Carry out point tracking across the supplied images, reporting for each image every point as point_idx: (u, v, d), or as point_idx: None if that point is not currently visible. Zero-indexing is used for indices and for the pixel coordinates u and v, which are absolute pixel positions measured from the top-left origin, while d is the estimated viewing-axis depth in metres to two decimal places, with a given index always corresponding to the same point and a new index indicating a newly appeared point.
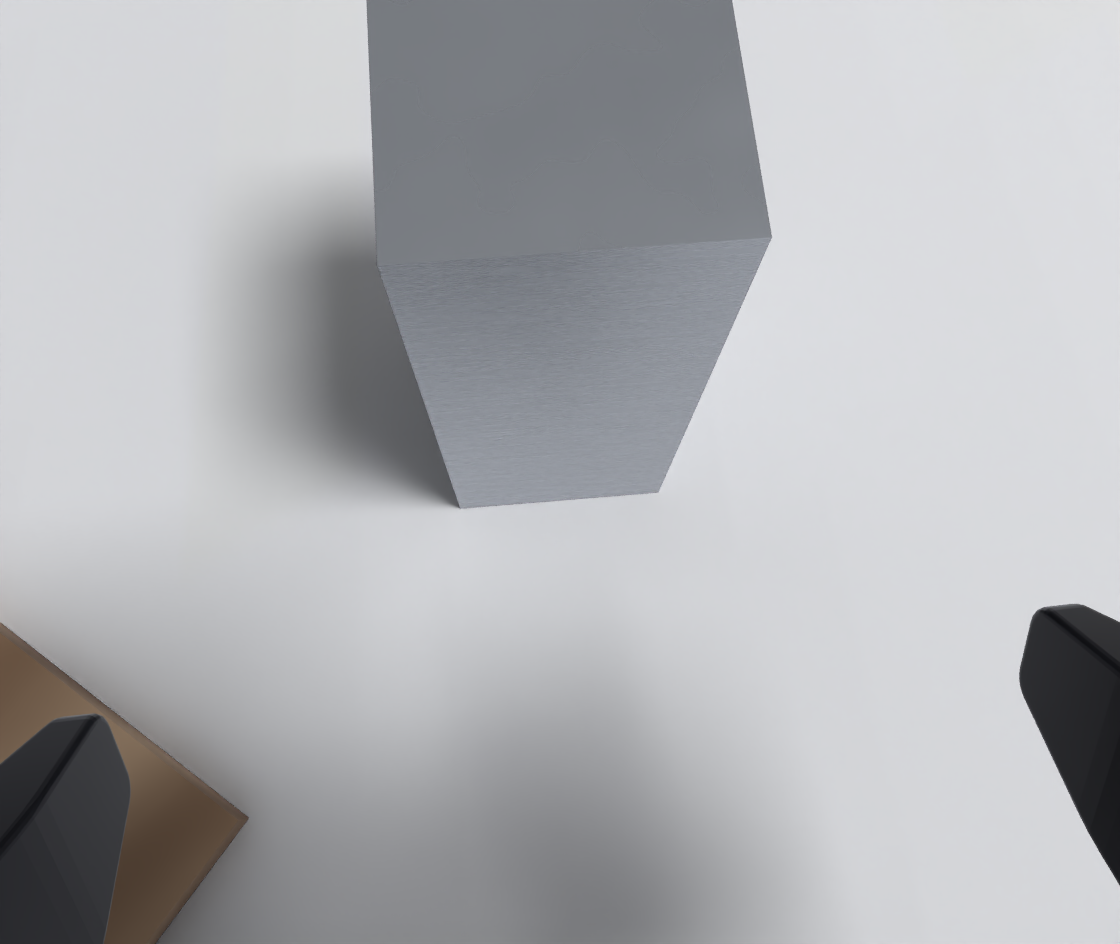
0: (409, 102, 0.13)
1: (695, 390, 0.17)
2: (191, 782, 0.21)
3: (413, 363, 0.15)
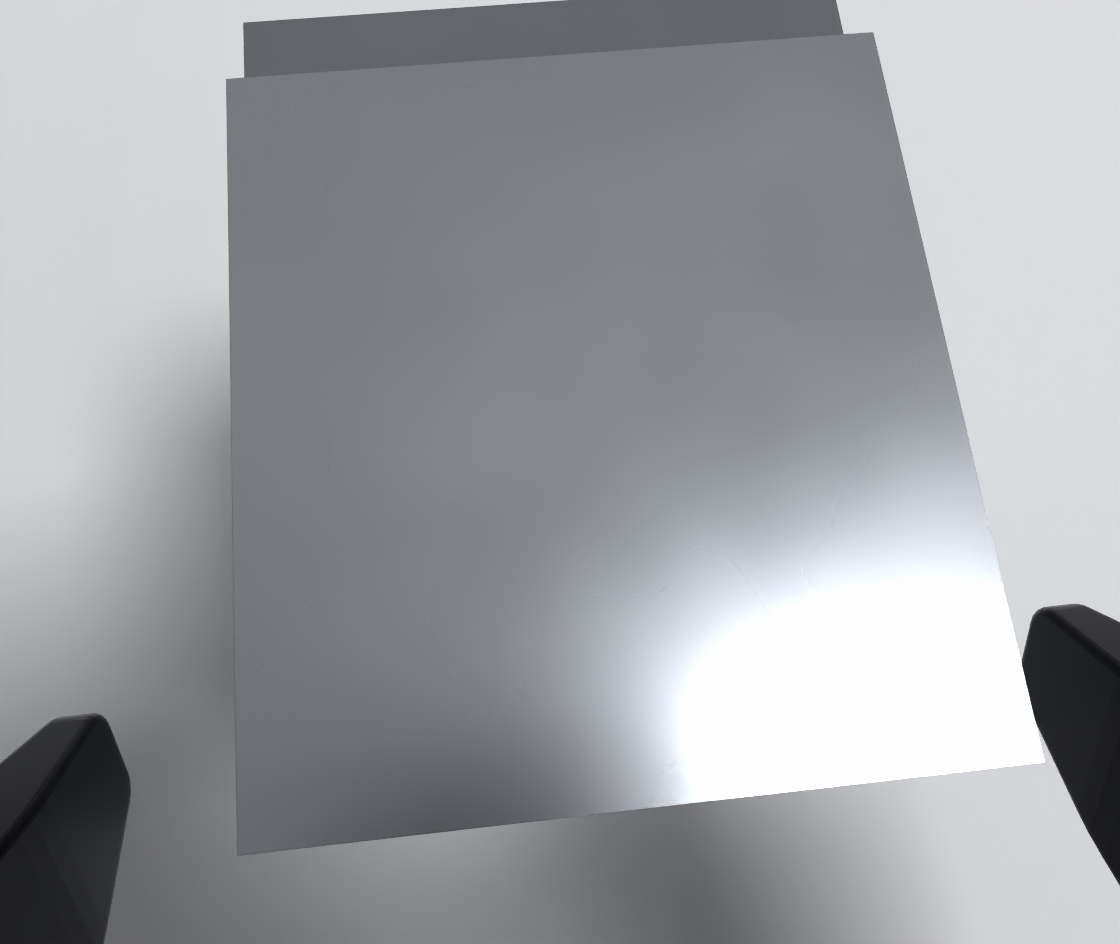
0: (310, 472, 0.06)
1: None
2: None
3: None
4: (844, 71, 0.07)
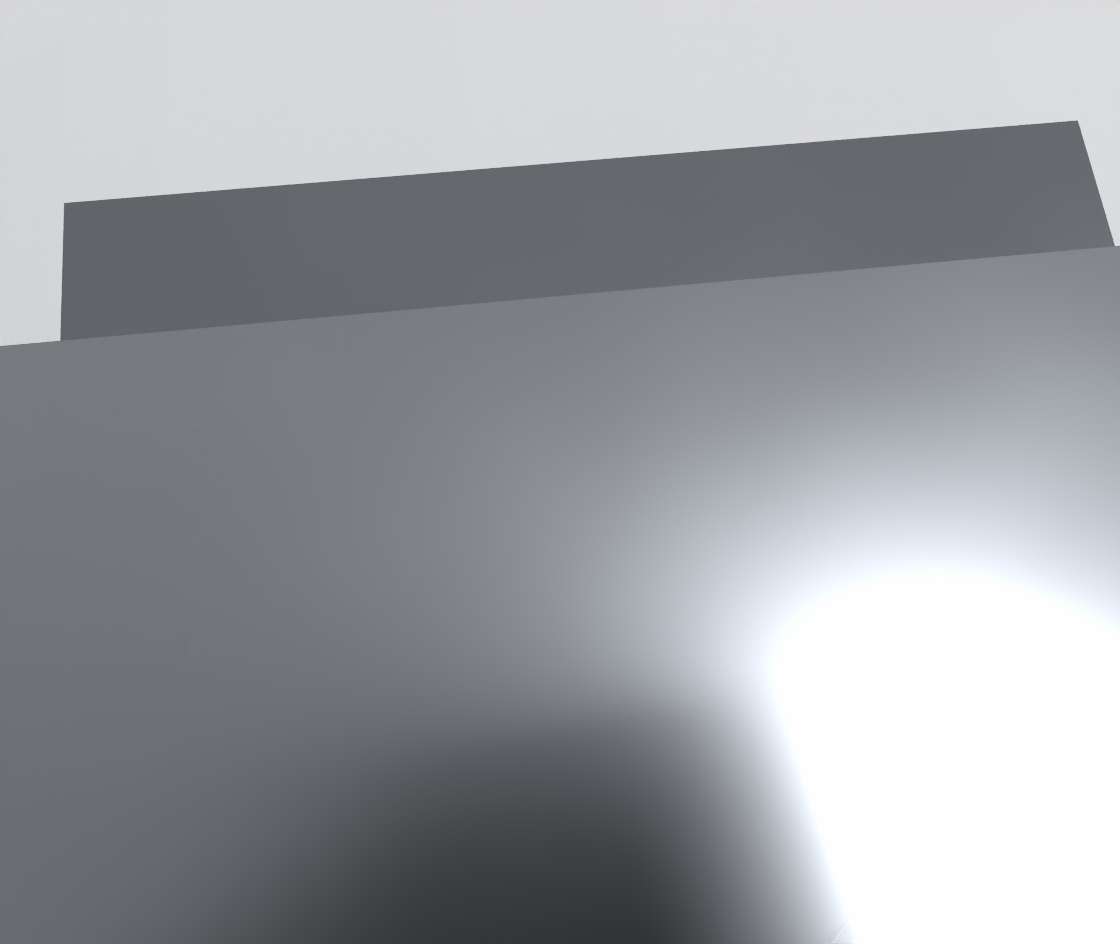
0: None
1: None
2: None
3: None
4: None
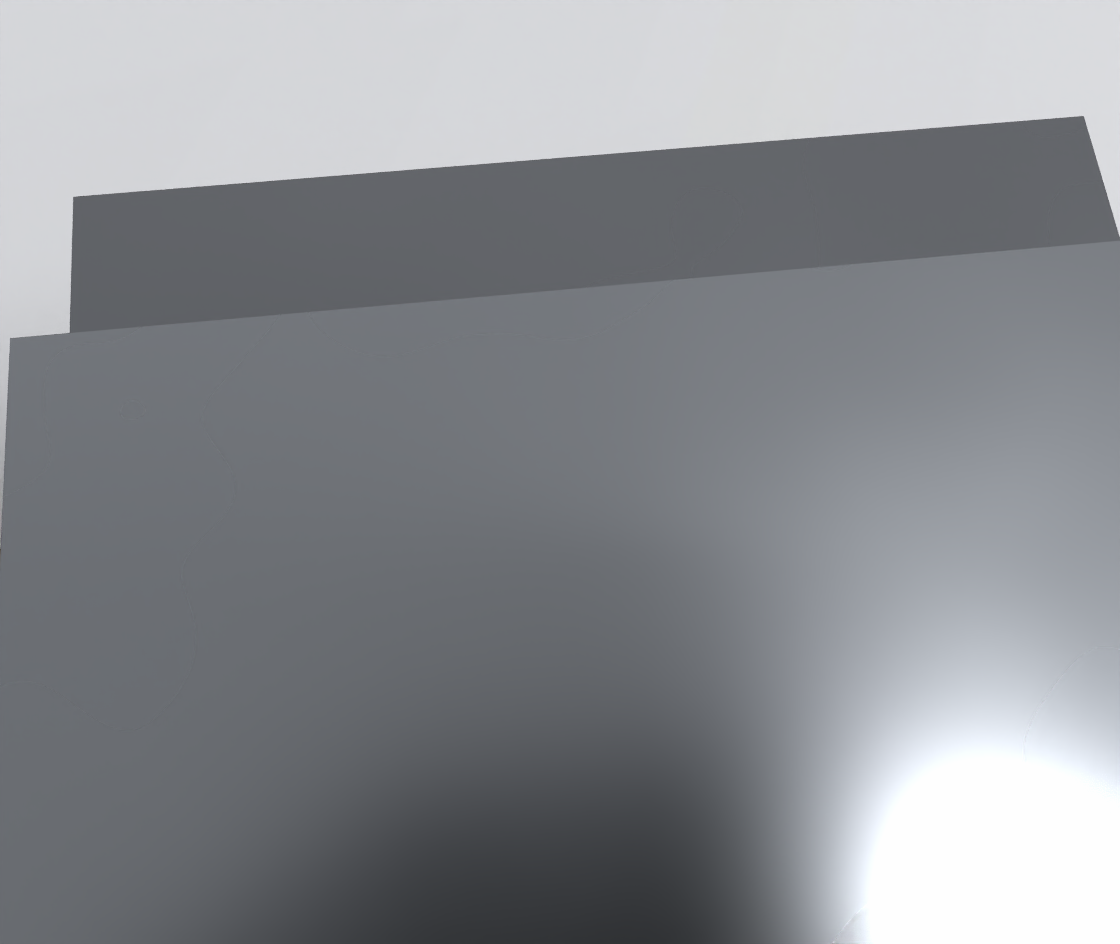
0: None
1: None
2: None
3: None
4: None
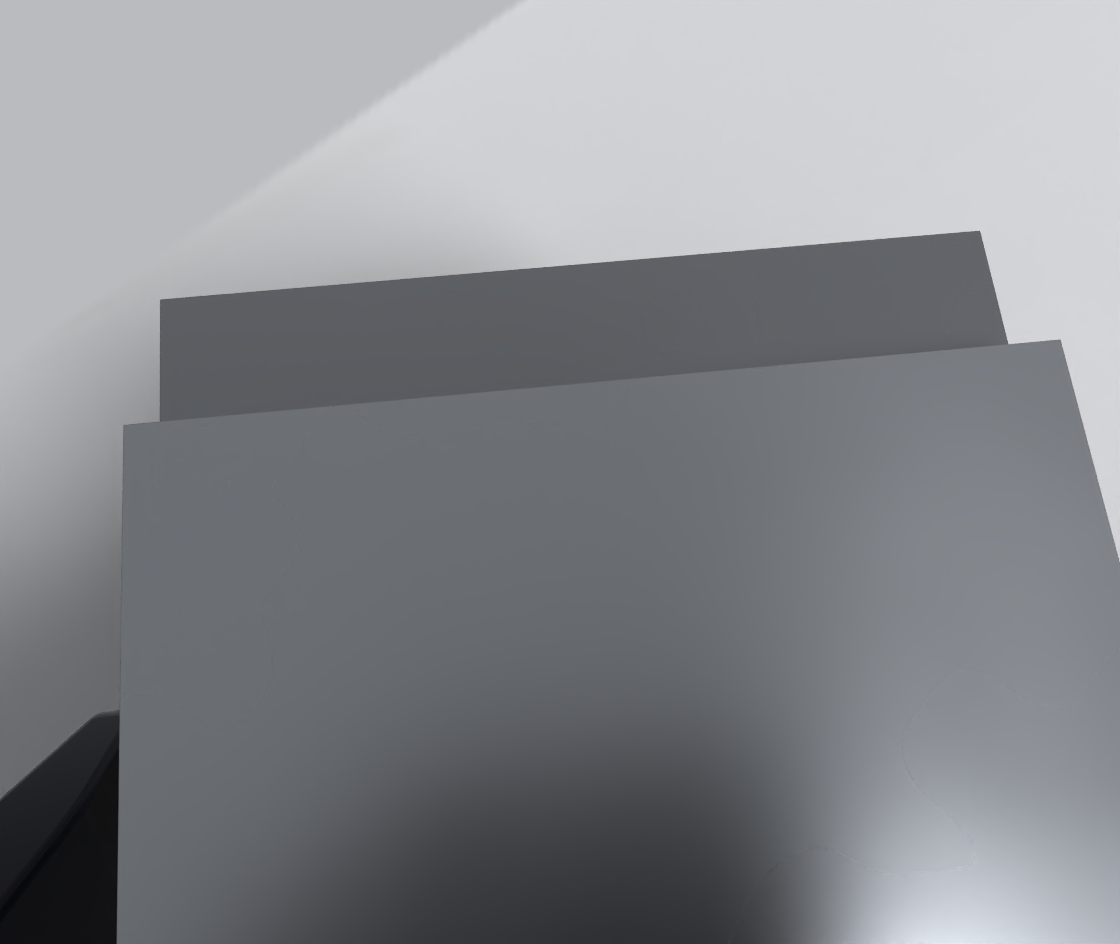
0: None
1: None
2: None
3: None
4: (1022, 403, 0.05)
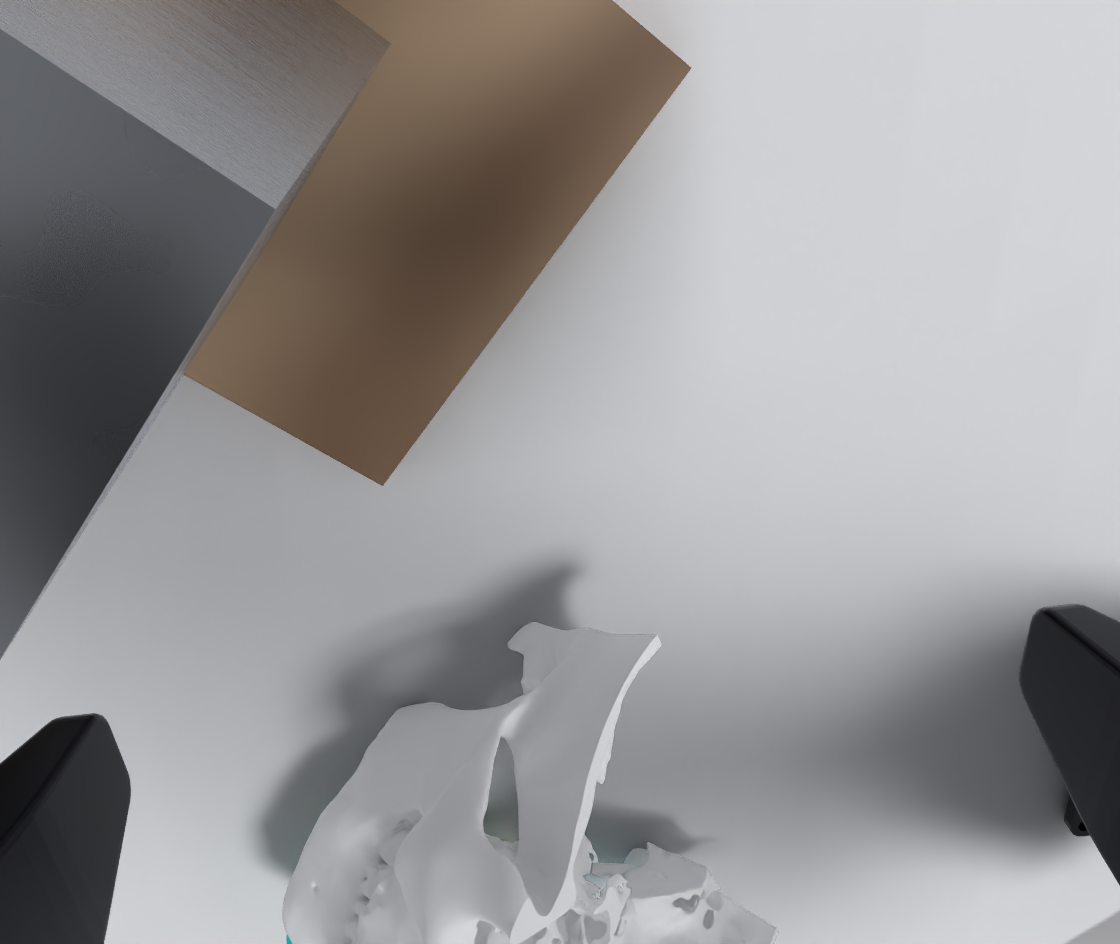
0: None
1: (345, 109, 0.11)
2: (634, 19, 0.18)
3: None
4: None
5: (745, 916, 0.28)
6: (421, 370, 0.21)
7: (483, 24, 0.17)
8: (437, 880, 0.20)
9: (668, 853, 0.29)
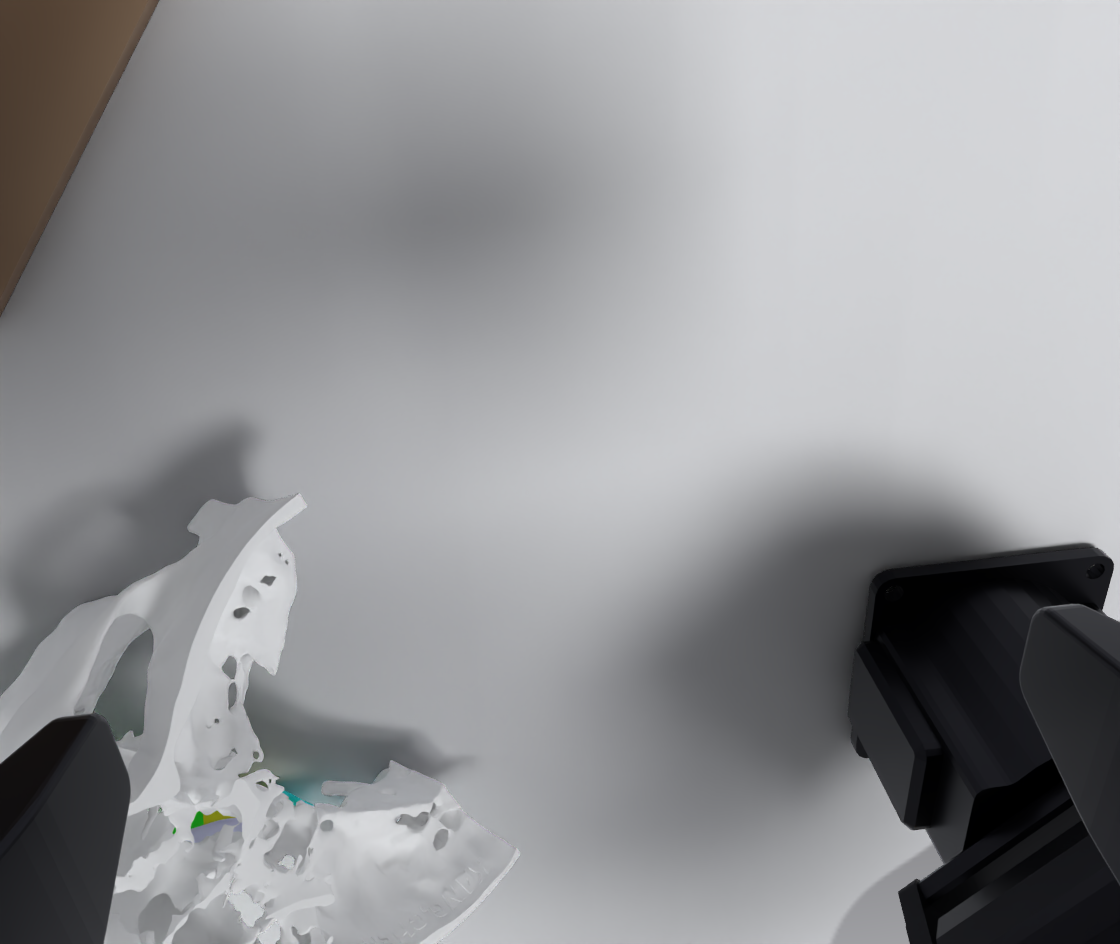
0: None
1: None
2: None
3: None
4: None
5: (486, 837, 0.25)
6: None
7: None
8: None
9: (409, 770, 0.26)
